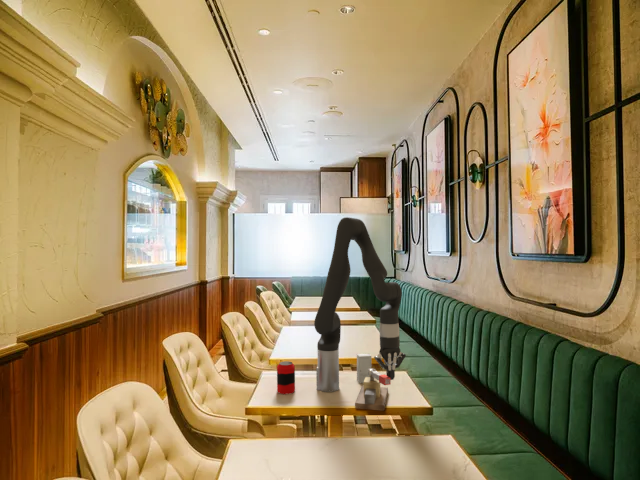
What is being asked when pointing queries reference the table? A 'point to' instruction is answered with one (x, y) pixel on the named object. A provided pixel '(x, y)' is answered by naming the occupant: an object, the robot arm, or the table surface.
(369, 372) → the valve lever
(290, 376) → the soda can
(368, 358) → the skincare box
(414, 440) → the table surface
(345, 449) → the table surface
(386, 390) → the valve stand
